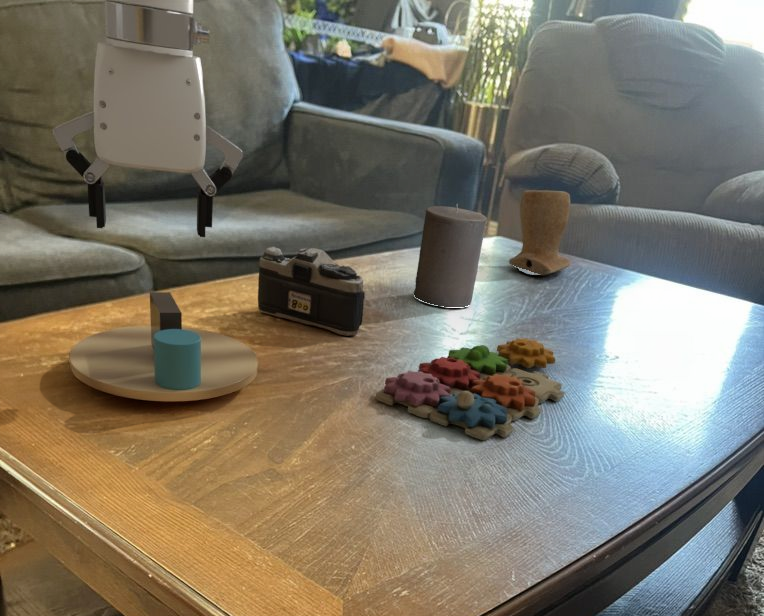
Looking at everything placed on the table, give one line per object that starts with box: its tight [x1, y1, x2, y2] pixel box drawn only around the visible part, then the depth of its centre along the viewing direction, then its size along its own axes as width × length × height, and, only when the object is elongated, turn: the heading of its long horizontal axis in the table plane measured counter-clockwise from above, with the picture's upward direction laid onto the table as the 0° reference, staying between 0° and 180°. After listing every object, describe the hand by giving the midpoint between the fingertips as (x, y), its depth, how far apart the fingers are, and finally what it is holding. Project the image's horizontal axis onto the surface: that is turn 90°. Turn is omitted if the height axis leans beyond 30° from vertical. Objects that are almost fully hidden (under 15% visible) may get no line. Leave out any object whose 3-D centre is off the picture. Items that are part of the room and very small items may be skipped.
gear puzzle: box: [375, 337, 565, 441], centre depth 96 cm, size 31×16×4 cm, turn 146°
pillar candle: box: [413, 203, 488, 307], centre depth 123 cm, size 10×10×15 cm
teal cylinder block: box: [153, 329, 201, 390], centre depth 79 cm, size 5×5×5 cm
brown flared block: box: [508, 189, 572, 276], centre depth 150 cm, size 15×12×15 cm
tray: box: [68, 291, 259, 402], centre depth 84 cm, size 20×20×7 cm
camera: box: [257, 245, 366, 337], centre depth 109 cm, size 16×10×10 cm, turn 65°
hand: (152, 229), depth 78 cm, fingers open, 9 cm apart
